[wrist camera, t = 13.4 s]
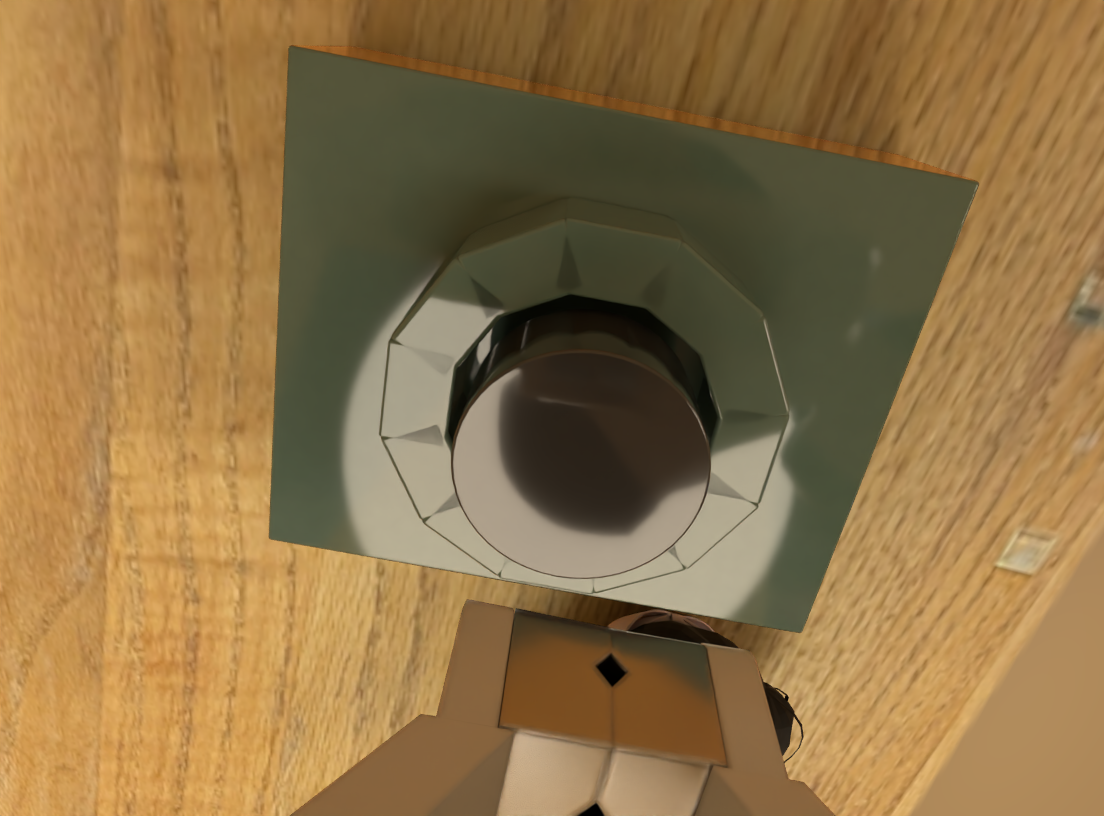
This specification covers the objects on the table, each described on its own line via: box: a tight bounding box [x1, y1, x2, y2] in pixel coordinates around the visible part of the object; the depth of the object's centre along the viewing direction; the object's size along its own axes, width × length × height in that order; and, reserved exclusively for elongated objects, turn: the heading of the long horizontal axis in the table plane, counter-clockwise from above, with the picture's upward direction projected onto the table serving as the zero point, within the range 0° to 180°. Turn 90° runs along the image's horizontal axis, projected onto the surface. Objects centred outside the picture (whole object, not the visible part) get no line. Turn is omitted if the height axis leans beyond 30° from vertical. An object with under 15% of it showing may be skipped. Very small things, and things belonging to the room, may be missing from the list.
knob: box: [451, 309, 711, 579], centre depth 13 cm, size 4×4×2 cm
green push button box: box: [269, 45, 979, 633], centre depth 16 cm, size 12×10×6 cm
